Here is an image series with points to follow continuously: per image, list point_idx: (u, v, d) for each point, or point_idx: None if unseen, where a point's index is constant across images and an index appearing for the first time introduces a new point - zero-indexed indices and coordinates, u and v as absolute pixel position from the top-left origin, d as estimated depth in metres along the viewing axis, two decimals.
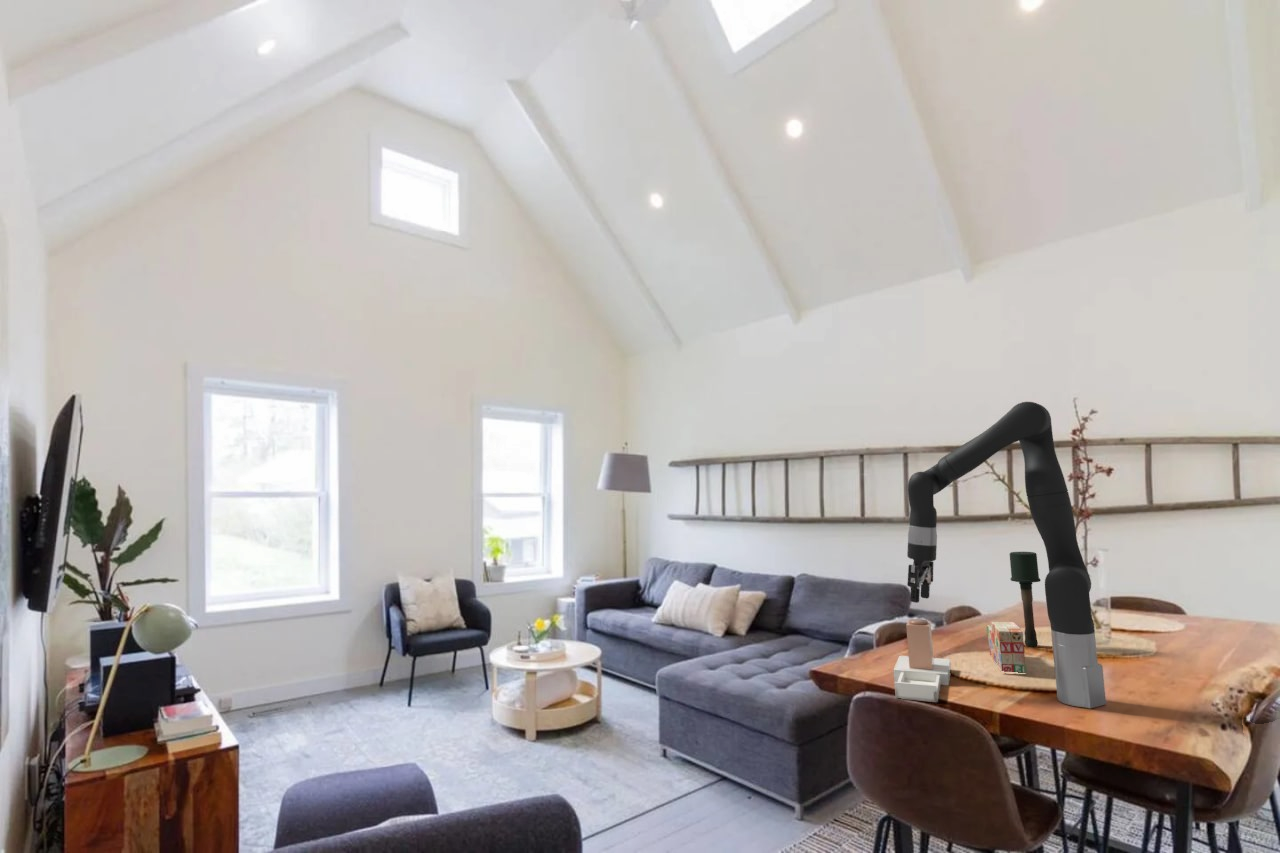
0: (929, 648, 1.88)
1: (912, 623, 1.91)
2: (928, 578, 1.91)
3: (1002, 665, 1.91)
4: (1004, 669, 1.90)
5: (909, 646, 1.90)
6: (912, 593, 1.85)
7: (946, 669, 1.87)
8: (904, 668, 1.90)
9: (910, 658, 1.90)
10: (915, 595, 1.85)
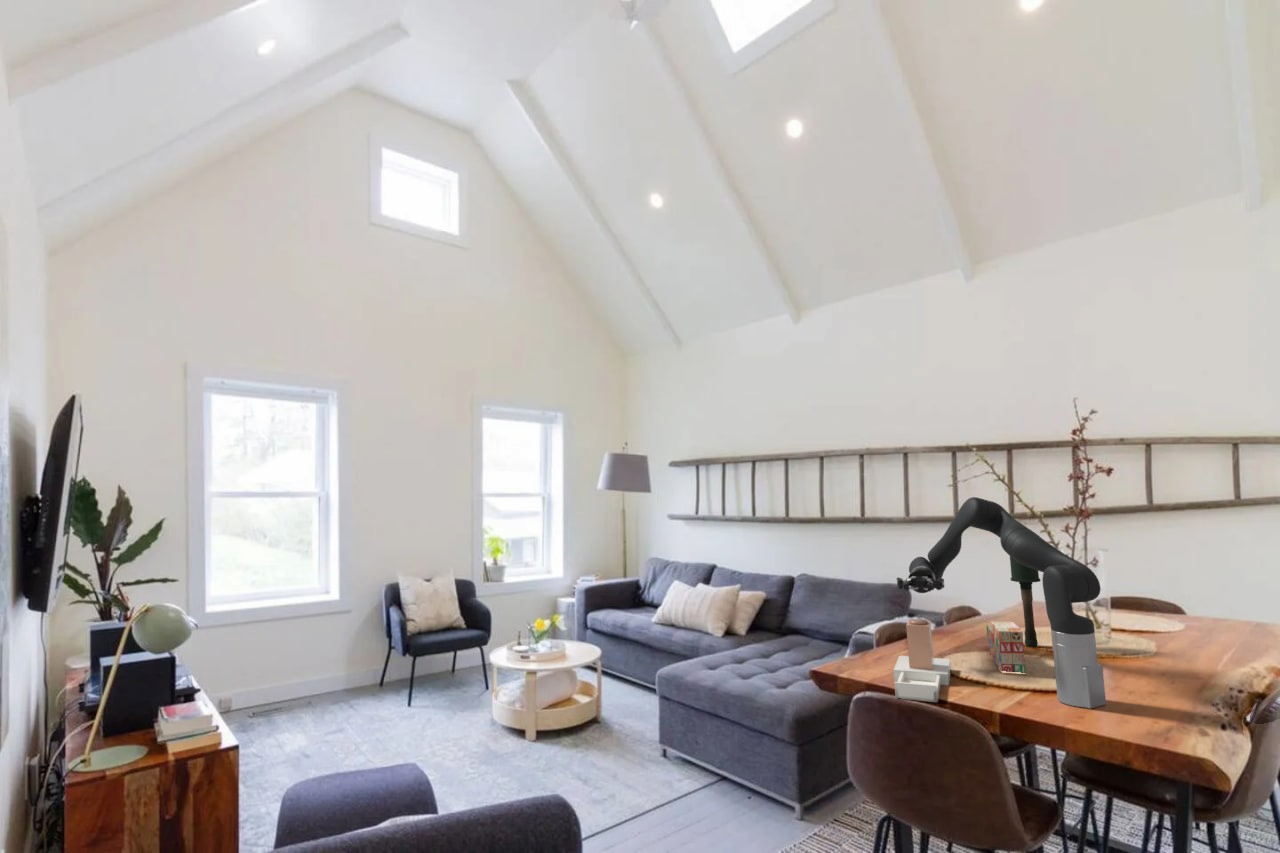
0: (929, 648, 1.88)
1: (912, 623, 1.91)
2: (926, 580, 2.03)
3: (1002, 665, 1.91)
4: (1004, 669, 1.90)
5: (909, 646, 1.90)
6: None
7: (946, 669, 1.87)
8: (904, 668, 1.90)
9: (910, 658, 1.90)
10: None
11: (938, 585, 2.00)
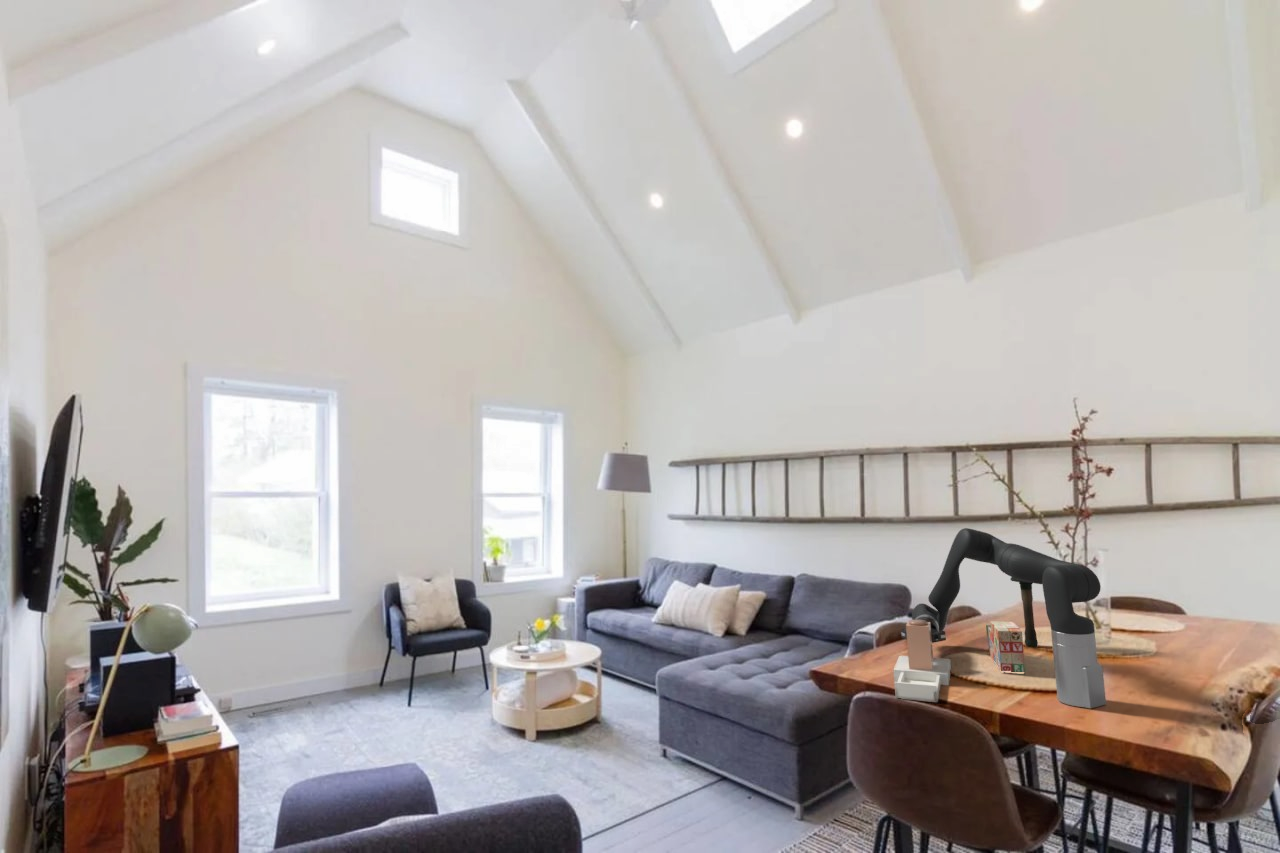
0: (929, 649, 1.87)
1: (912, 624, 1.90)
2: None
3: (1001, 664, 1.91)
4: (1003, 668, 1.91)
5: (909, 647, 1.89)
6: None
7: (946, 669, 1.87)
8: (904, 668, 1.90)
9: (910, 659, 1.89)
10: None
11: (932, 638, 1.96)
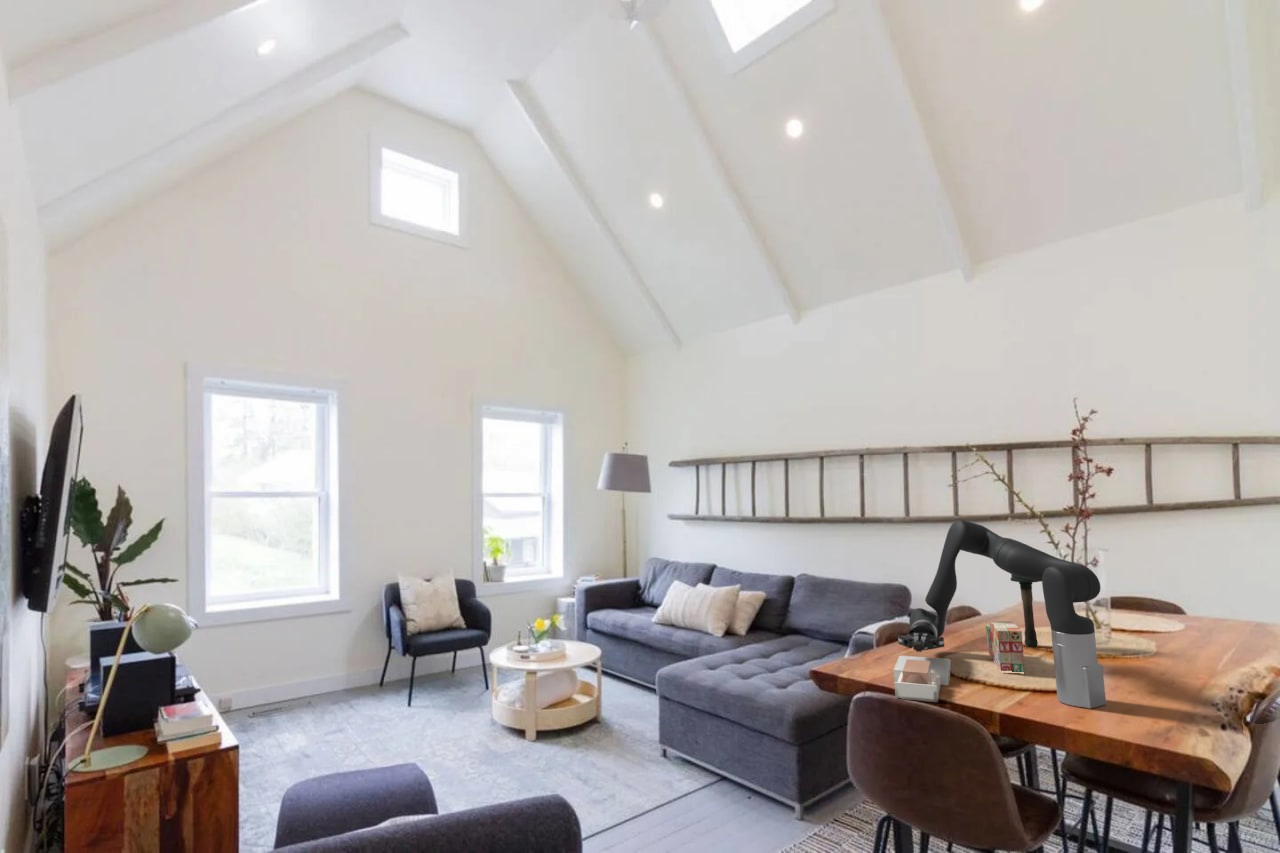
0: None
1: None
2: None
3: (1001, 664, 1.91)
4: (1003, 668, 1.91)
5: None
6: None
7: (946, 669, 1.87)
8: None
9: None
10: None
11: (930, 644, 1.89)
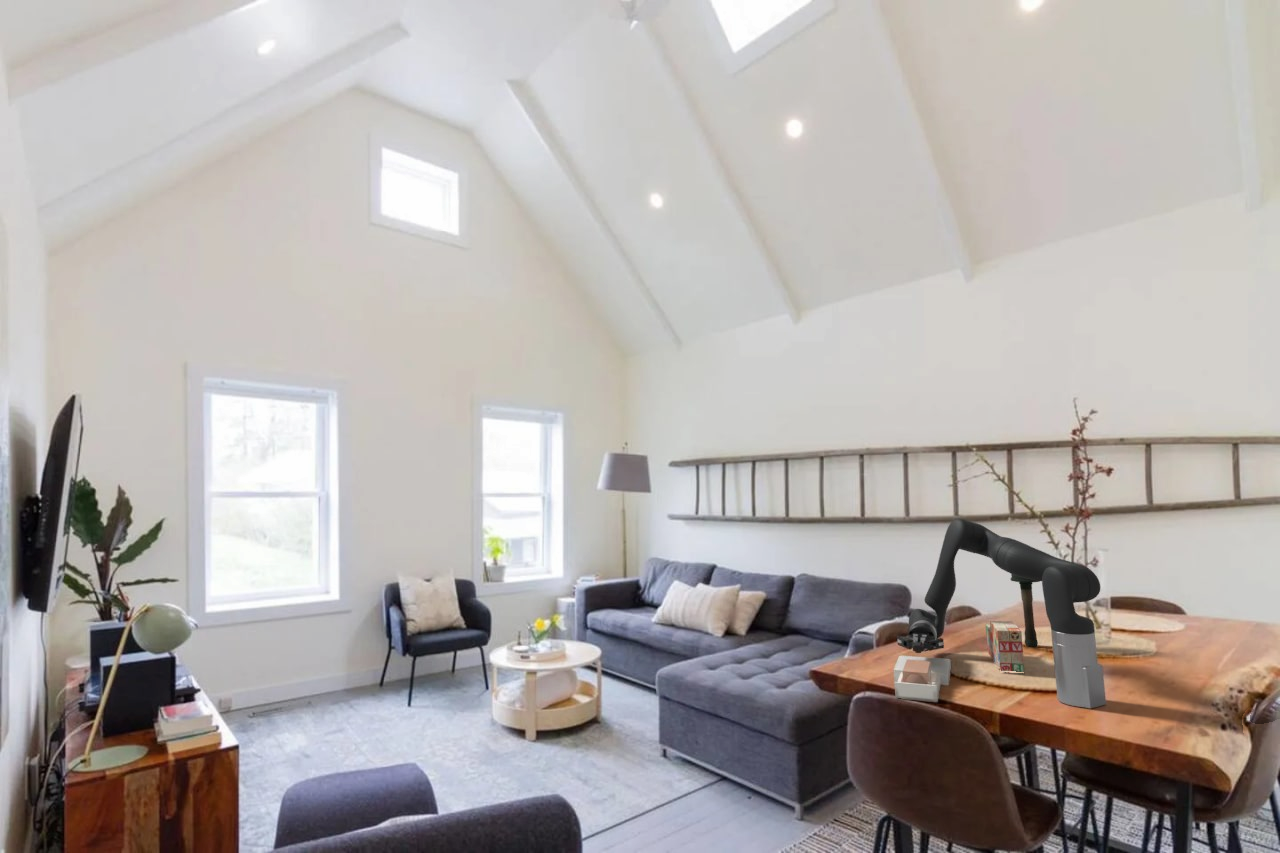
0: None
1: None
2: (920, 639, 1.91)
3: (1001, 664, 1.92)
4: (1003, 668, 1.91)
5: None
6: None
7: (946, 669, 1.87)
8: None
9: None
10: None
11: (929, 645, 1.88)
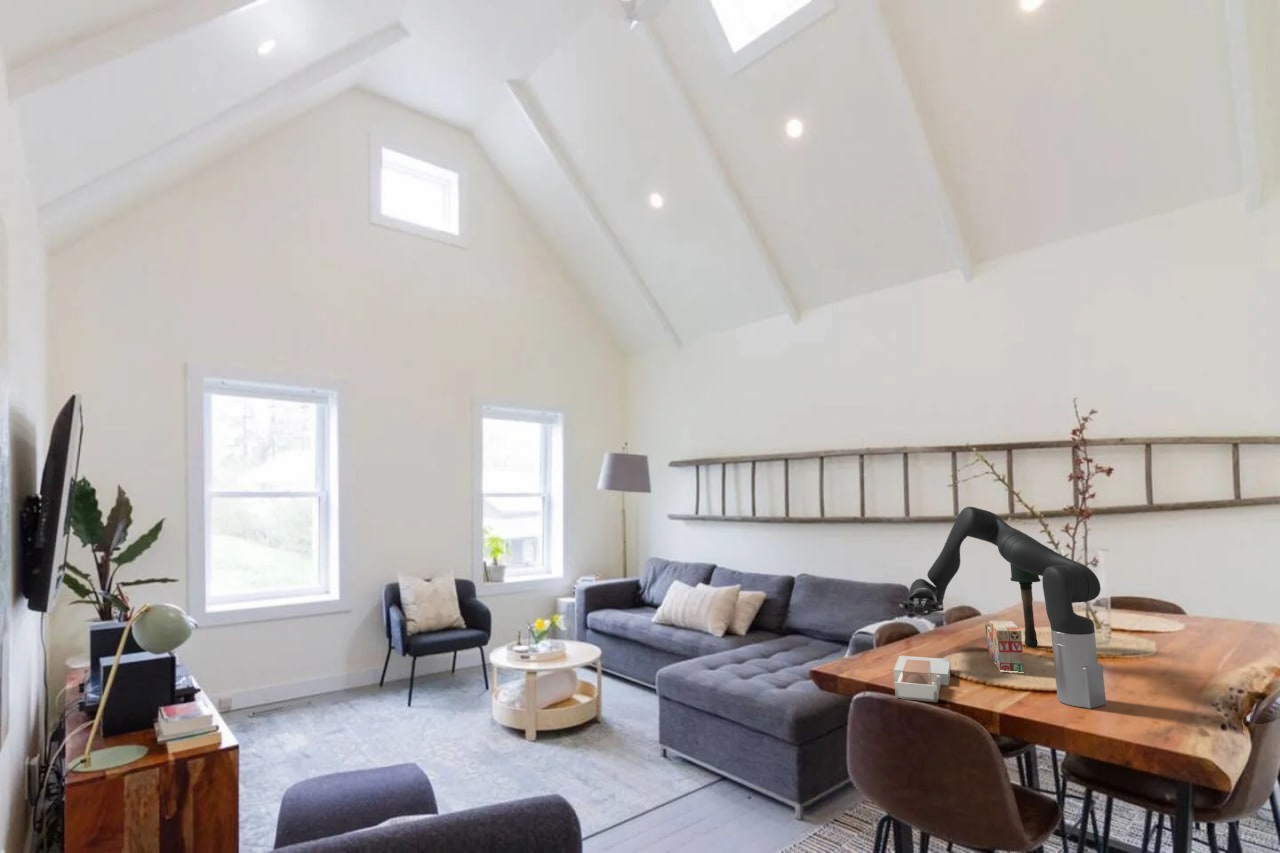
0: None
1: None
2: (921, 602, 2.00)
3: (1000, 664, 1.92)
4: (1002, 668, 1.91)
5: None
6: None
7: (946, 669, 1.87)
8: None
9: None
10: (913, 607, 1.97)
11: (929, 607, 1.97)
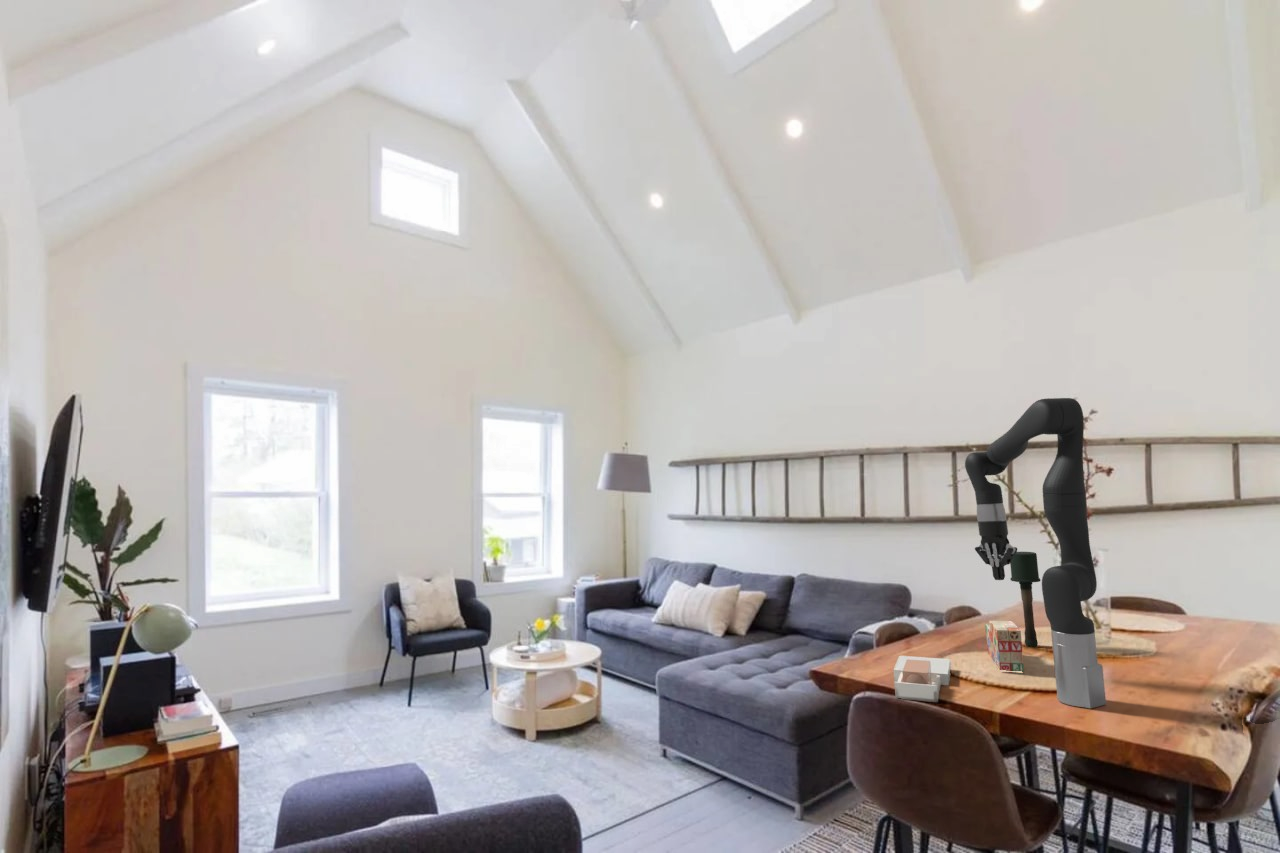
0: None
1: None
2: None
3: (1000, 664, 1.92)
4: (1002, 668, 1.92)
5: None
6: None
7: (946, 669, 1.87)
8: None
9: None
10: None
11: (1005, 564, 1.92)
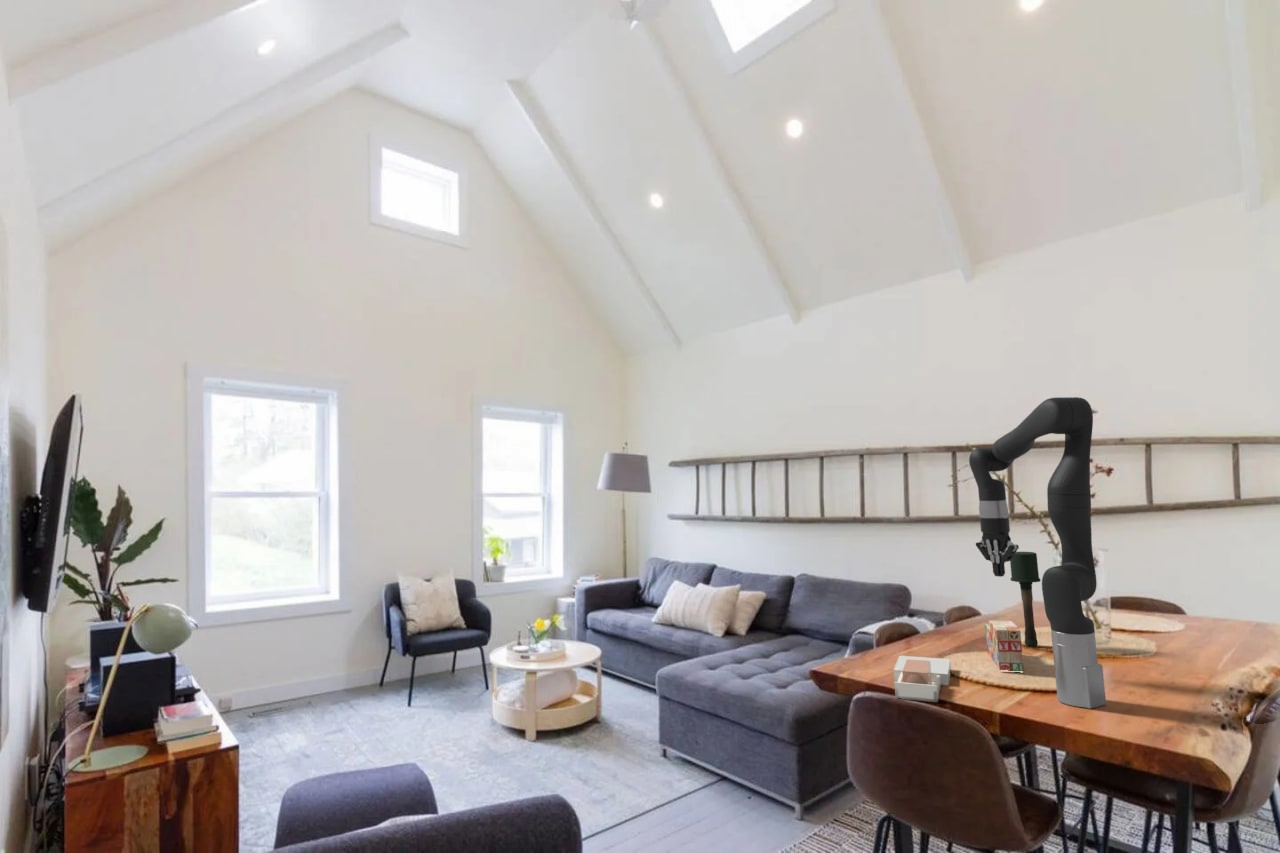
0: None
1: None
2: None
3: (1000, 663, 1.92)
4: (1002, 667, 1.92)
5: None
6: None
7: (946, 669, 1.87)
8: None
9: None
10: None
11: (1006, 561, 1.92)
